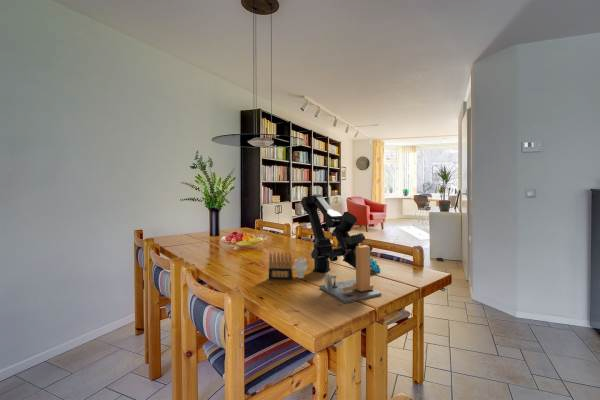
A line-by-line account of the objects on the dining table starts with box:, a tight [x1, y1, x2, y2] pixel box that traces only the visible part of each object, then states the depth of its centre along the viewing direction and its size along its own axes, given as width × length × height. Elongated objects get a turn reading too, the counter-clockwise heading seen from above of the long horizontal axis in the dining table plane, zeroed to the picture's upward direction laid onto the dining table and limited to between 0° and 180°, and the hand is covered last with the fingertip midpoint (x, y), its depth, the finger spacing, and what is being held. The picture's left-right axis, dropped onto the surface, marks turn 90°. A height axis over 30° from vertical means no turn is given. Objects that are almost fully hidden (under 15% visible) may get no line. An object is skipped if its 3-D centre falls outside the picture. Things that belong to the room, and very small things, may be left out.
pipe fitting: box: [292, 257, 309, 279], centre depth 132 cm, size 6×7×8 cm
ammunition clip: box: [268, 252, 294, 281], centre depth 129 cm, size 11×2×12 cm, turn 82°
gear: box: [370, 257, 381, 273], centre depth 140 cm, size 11×6×10 cm
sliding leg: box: [343, 244, 374, 292], centre depth 111 cm, size 5×12×16 cm, turn 116°
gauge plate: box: [319, 274, 382, 304], centre depth 113 cm, size 18×16×6 cm
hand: (360, 270), depth 114 cm, fingers closed, pressing on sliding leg
